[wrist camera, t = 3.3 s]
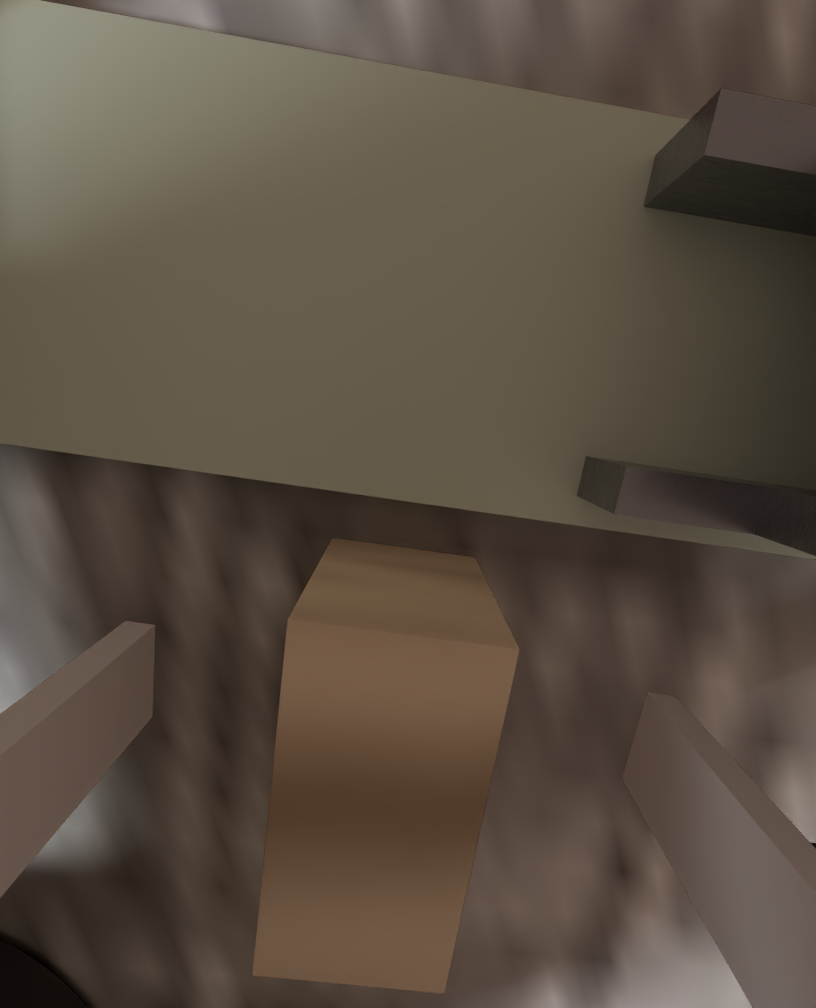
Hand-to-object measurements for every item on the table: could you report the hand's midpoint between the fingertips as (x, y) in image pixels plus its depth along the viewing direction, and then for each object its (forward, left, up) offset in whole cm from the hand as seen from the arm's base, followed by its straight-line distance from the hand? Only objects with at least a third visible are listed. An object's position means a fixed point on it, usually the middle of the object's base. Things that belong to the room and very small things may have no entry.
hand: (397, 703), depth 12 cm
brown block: (0, 0, -2) cm, 2 cm away
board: (0, +10, -1) cm, 10 cm away
